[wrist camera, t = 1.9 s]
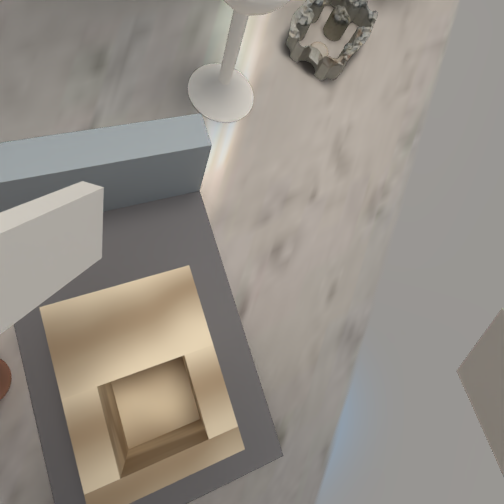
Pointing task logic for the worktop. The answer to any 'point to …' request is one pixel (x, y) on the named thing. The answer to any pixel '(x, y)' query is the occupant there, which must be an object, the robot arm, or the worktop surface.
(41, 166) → the wall
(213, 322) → the mat
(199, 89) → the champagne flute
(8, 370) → the dowel
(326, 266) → the worktop surface
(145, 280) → the socket block
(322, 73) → the egg carton
